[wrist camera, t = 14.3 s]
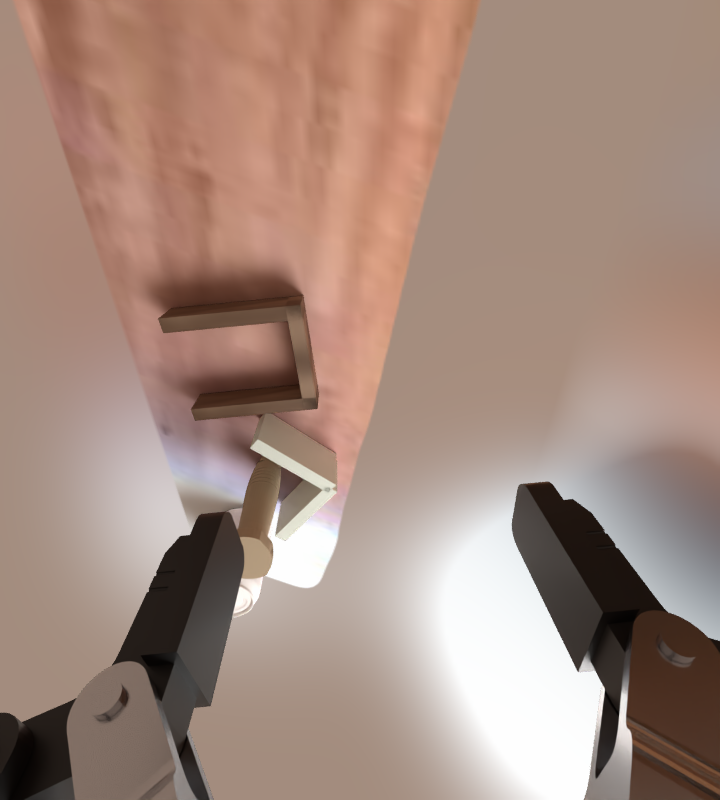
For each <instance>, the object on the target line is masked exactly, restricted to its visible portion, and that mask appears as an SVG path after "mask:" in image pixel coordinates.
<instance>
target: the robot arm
mask: <svg viewBox="0 0 720 800" xmlns="http://www.w3.org/2000/svg"><path fill="white" fill-rule="evenodd" d="M512 531H513V536H514V540H515V543H516V545H517V547H518V550H519V552H520V553H521V556H522V558H523V560H524V562H525V564H526V566H527V568H528V570H529V572H530V574H531V576H532V578H533V580H534V582H535V584H536V587H537V589H538V591H539V593H540V595H541V597H542V599H543V601H544V603H545V605H546V607H547V609H548V611H549V613H550V615H551V617H552V619H553V622H554V624H555V626H556V628H557V630H558V632H559V634H560V636H561V638H562V640H563V642H564V644H565V646H566V648H567V650H568V652H569V654H570V656H571V658H572V661H573V663H574V665H575V667H576V669H577V671H578V672H587V671H596V673H597V675H598V677H599V679H600V680H601V682H602V684H603V686H602V688H601V694H600V702H599V708H598V717H597V725H596V731H595V740H594V747H593V754H592V762H591V770H590V777H589V782H588V787H587V791H586V795H585V798H584V800H720V641H718V640H714V639H711V638H708V637H707V636H706V635H705V634H704V633H703V632H702V631H700V630H699V629H698V628H697V627H695V626H694V625H693V624H691V623H690V622H688V621H686V620H684V619H683V618H681V617H679V616H676V615H674V614H671V613H668V612H667V611H666V610H665V609H664V608H663V606H662V605H661V604H660V603H659V601H658V600H657V599H656V598H655V596H654V595H653V594H652V592H651V591H650V590H649V588H648V587H647V586H646V585H645V583H644V582H643V580H642V579H641V578H640V576H639V575H638V574H637V572H636V571H635V570H634V569H633V567H632V566H631V565H630V563H629V562H628V561H627V559H626V558H625V557H624V555H623V554H622V553H621V551H620V550H619V549H618V548H616V547H615V543H614V542H613V541H612V539H611V538H610V537H609V535H608V534H605V532H604V529H603V528H602V526H601V525H600V524H599V522H598V521H597V520H596V518H595V517H594V516H593V514H592V513H591V512H589V511H588V510H587V509H585V508H584V507H583V506H581V505H580V504H579V503H577V502H576V501H574V500H573V499H569V500H563V499H562V497H561V496H560V494H559V493H558V491H557V490H556V488H555V487H554V486H553V485H552V484H551V483H550V482H538V483H528V484H520V485H519V487H518V490H517V496H516V502H515V508H514V513H513V519H512ZM243 570H244V549H243V545H242V543H241V540H240V537H239V534H238V531H237V529H236V526H235V523H234V520H233V517H232V515H231V513H230V512H218V513H208V514H201V515H199V516H198V518H197V520H196V522H195V525H194V527H193V529H192V532H191V534H190V535H186V536H180V537H179V539H177V540H176V542H175V543H174V544H173V545H172V546H171V547H170V548H169V549H168V551H167V552H166V553H165V555H164V557H163V559H162V561H161V563H160V565H159V568H158V570H157V572H156V573H157V574H156V576H154V578H153V581H152V583H151V585H150V587H149V592H147V594H146V596H145V598H144V600H143V602H142V604H141V607H140V609H139V611H138V613H137V615H136V617H135V619H134V622H133V624H132V626H131V628H130V630H129V632H128V635H127V637H126V639H125V641H124V643H123V645H122V648H121V650H120V652H119V654H118V656H117V658H116V660H115V661H114V663H113V664H112V666H111V667H108V668H107V669H105V670H104V671H102V672H101V673H99V674H98V675H97V676H95V677H94V678H93V679H92V680H91V681H90V682H89V683H88V684H87V685H86V686H85V688H84V689H83V690H82V691H81V693H80V694H79V695H78V697H77V698H76V699H74V700H72V701H70V702H68V703H65V704H63V705H61V706H58V707H56V708H54V709H52V710H49V711H47V712H45V713H42V714H40V715H38V716H35V717H33V718H31V719H28V720H26V721H24V722H21V721H19V720H18V719H17V718H16V717H15V716H13V715H11V714H9V713H0V800H214V799H213V796H212V793H211V790H210V787H209V785H208V782H207V779H206V776H205V773H204V770H203V768H202V765H201V762H200V759H199V756H198V754H197V751H196V748H195V745H194V742H193V740H192V737H191V734H190V731H189V729H188V727H189V724H190V720H191V716H192V713H193V709H194V708H196V707H206V706H211V702H212V698H213V693H214V690H215V685H216V681H217V677H218V673H219V669H220V665H221V661H222V657H223V653H224V648H225V644H226V640H227V636H228V632H229V628H230V623H231V620H232V615H233V611H234V607H235V603H236V599H237V595H238V591H239V587H240V582H241V578H242V574H243Z"/></svg>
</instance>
